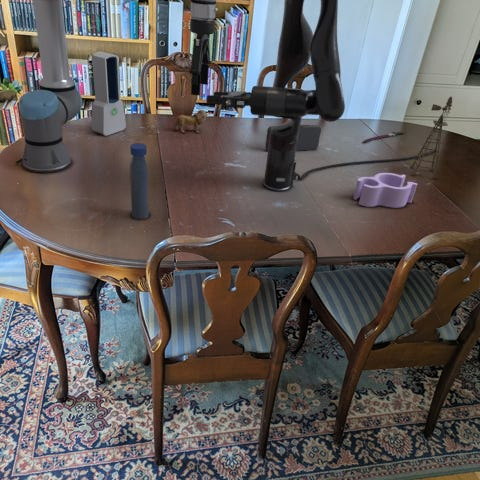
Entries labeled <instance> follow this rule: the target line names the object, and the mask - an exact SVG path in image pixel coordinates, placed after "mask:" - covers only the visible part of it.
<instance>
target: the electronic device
mask: <svg viewBox="0 0 480 480" xmlns="http://www.w3.org/2000/svg"><path fill="white" fill-rule="evenodd" d="M91 59H92V61H91V63H92V74H93V75H92V76H93V89H94V101H93V102H92V103H91V116H90V117H91V118H90V126H91V129H92V131H94V133H96V134H99V135H102V136H105V137H107V136H110V135H112V134H113V135H114V134H117V133H119V132H121V131H124V130H125V129H126V127H127V123H126V114H125V107H124V102H123V101H122V100H121V91H120V70H119V69H120V68H119V56H118V55H115V54H112V53H109V52H104V51H96V52H94V53H93V54H91Z"/></svg>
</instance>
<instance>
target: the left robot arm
mask: <svg viewBox="0 0 480 480" xmlns="http://www.w3.org/2000/svg"><path fill="white" fill-rule="evenodd" d="M63 6H64V5H63V0H32V7H33V12H34V13H33V14H34V21H35V28H36V35H37V43H38V49H39V58H40V65H41V73H42V77H41V79H40V80H39V82H38V87H39V89H37V90H36V89H35V90H33V91H28V92H25V93H24V94H22V95H21V96H20V98H19V100H18V105H19V106H18V111H19V114H20V119H21V126H22V132H23V136H24V148H23V153H22V158H21V157H20V159H18V160H16V161H15V164H16V165H17V164H19V163H22V166H23V168H24V169H25V170H27V171H29V172H33V173H39V174H46V173H56V172H61V171H63V170H66V169H67V168H69V167H70V166H71V163H72V159H71V155H70V153H69V151H68V150H67V149H68V148H67V147H66V145H65V143H64V140H63V132H62V126H64V125H65V124H67V123H68V122H69V121H71V120H73V119H74V118H76V116H78V114H79V113H80V112H81V110H82V107H83V98H82V93H80V91H79V90H78V89H77V87H76V81H75V80H74V79H72V78H71V75H70V74H71V73H70V64H69V55H68V45H67V36H66V27H65V26H66V24H65V18H64V7H63ZM216 6H217V0H190V13H189V14H190V19H189V20H190V21H189V31H190V32H191V33H193V34H195V35H196V38H193V40H192V41H193V48H192V56H191V63H190V69H189V71H188V73H189V74H191V83H190V84H191V85H190V87H191V88H190V95H191V96H201V85H205V86H208V85H209V67H210V65H212V60H211V47H210V46H211V45H210V44H211V42H210V36H211V35H214V34H215V31H216V29H215V28H216V21H215V20H214V19H215V18H216V12H218V11H219V10H218V8H217V7H216Z"/></svg>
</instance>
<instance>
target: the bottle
mask: <svg viewBox="0 0 480 480" xmlns="http://www.w3.org/2000/svg"><path fill="white" fill-rule="evenodd" d="M147 162H148V161H147V159H146V157H145V156H140V157H138V156H133V155H132V158H131V161H130V164H129V174H130V175H129V176H130V179H129V180H130V181H129V182H130V199H131V200H130V201H131V202H130V203H131V206H130V207H131V217H132V218H134V219H135V220H144V219H147V218H148V217H149V216H150V213H149V211H150V210H149V208H150V207H149V166H148V165H149V164H148V163H147Z"/></svg>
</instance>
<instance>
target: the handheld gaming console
mask: <svg viewBox="0 0 480 480" xmlns="http://www.w3.org/2000/svg"><path fill="white" fill-rule="evenodd" d="M274 126H275V125H270V126H268V127H267V130H266V139H265V145H264V146H265V150H267V151H268V147H269V139H270V132H271V129H272V127H274ZM321 133H322V127H321V126H319V125H318V124H300V128H299V135H298V141H297V147H296V151H312V150H317V148H318V147H319V144H320V137H321Z"/></svg>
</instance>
